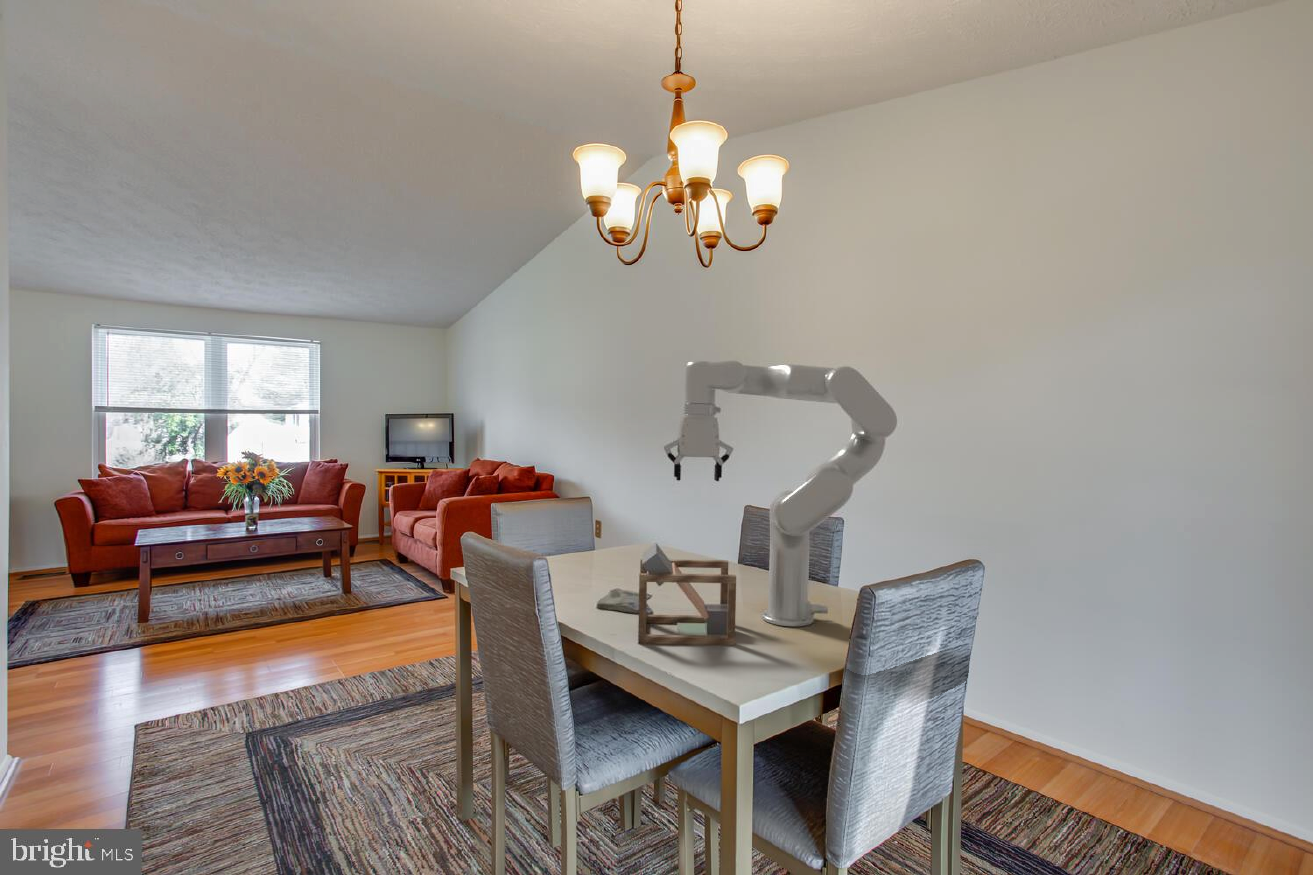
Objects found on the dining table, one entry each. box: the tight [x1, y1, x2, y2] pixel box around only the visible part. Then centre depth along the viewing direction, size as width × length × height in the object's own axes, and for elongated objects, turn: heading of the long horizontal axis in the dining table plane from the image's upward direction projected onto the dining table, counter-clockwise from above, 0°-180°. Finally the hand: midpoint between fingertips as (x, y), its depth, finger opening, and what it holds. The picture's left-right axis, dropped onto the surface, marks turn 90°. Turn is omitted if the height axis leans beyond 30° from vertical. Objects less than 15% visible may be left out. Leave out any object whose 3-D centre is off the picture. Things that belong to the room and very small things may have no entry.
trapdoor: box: [641, 543, 708, 620], centre depth 148 cm, size 18×12×4 cm
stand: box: [637, 558, 737, 646], centre depth 148 cm, size 21×16×15 cm
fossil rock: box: [595, 587, 653, 615], centre depth 171 cm, size 18×15×2 cm
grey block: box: [705, 603, 727, 635], centre depth 149 cm, size 5×5×6 cm
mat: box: [676, 623, 727, 636], centre depth 149 cm, size 11×11×1 cm
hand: (697, 480), depth 161 cm, fingers open, 9 cm apart
